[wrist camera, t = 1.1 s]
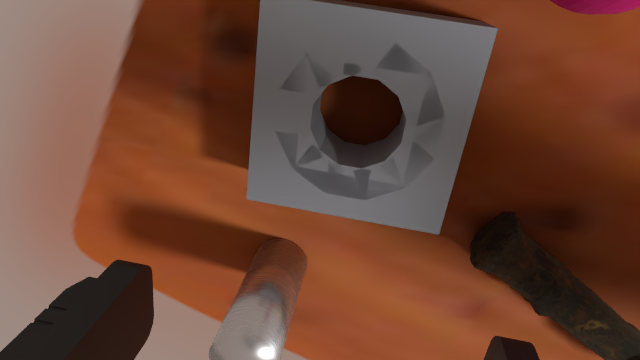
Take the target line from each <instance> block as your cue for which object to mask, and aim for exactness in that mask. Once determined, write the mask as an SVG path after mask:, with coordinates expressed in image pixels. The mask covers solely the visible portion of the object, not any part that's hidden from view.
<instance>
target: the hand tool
mask: <svg viewBox="0 0 640 360" xmlns="http://www.w3.org/2000/svg"><path fill="white" fill-rule="evenodd" d="M470 250H471V257H470V260H471V263H472V264H473V266H474V268H477V269H480V270H483V271H485V272H487V273H493V274H495V275H497V276H499V277H500V278H501V279H503V280H504V281H505V282H506V283H508V284H509V285H510V286H511V287H512V288H514V289H515V290H517V291H518V292H519V293H520V294H521V295H522V296H523V297H524V299H525V300H526V301H528V302H530V303H531V305H532V307H533V309H534V311H535V312H536V313H537V314H538V315H540V316H548V317H550V318H552V319H553V320H554V321H555V322H557V323H558V324H559V325H561V326H562V327H563V328H564V329H566V330H567V331H568V332H569V333H570V334H572V335H573V336H574V337H576V338H577V339H578V340H580V341H581V342H582V343H583V344H585V345H586V346H587V347H588V348H590V349H591V350H593V351H594V352H595V353H596V354H598V355H599V356H600V357H602V358H603V359H604V360H640V331H639V330H638V329H637V328H636V327H635V326H633V325H632V324H630V323H627V322H626V321H625V320H624V319H622V318H621V317H620V316H619V315H618V314H617V313H616V312H615V311H614V310H613V309H612V308H611V307H609V306H608V305H607V304H606V303H605V302H604V301H603V300H602V299H601V298H600V297H599V296H597V295H596V294H595V293H594V292H593V291H592V290H591V289H589V288H588V287H586V286H585V285H584V284H583V283H582V282H581V281H580V280H578V279H577V278H576V277H575V276H574V275H573V274H572V273H571V271H569V270H568V269H567V268H566V267H565V266H564V265H563V264H562V263H561V262H560V261H559V260H558V259H557V258H556V257H554V256H553V255H551V254H550V253H549V252H547V251H546V250H545V249H543V248H542V247H540V246H539V245H538V244H537V243H536V242H535V241H533V240H532V239H531V238H530V237H529V236H528V235H527V234H526V233H525V232H524V231H522V228H521V224H520V222H519V220H518V218H517V217H516V216H515V212H502V213H501V214H499V215H498V216H497V217H496V218H495V219H494V220H492V221H490V222H489V223H487V224H486V225H485V226H484V227H483V228H482V229H481V230H480V231H479V232H478V233H477V235H476V236H475V237H474V239H473V240H472V242H471V245H470Z"/></svg>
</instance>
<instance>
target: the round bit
mask: <svg viewBox="0 0 640 360" xmlns="http://www.w3.org/2000/svg"><path fill="white" fill-rule="evenodd" d="M306 267H307V259H306V256H305V253H304V252H303V250H302V249H301V248H300V247H299V246H298V245H297V244H295V243H294V242H292V241H289V240H287V239H281V238H275V239H270V240H267V241H266V242H264V243H263V244H262V245H261V246H260V247H259V248H258V250H257V252H256V254H255V256H254V258H253V261H252V263H251V265H250V267H249V269H248V271H247V273H246V275H245V277H244V279H243V281H242V283H241V285H240V287H239V289H238V291H237V294H236V296H235V298H234V300H233V302H232V304H231V306H230V308H229V310H228V312H227V314H226V316H225V318H224V320H223V322H222V325H221V327H220V329H219V331H218V333H217V335H216V337H215V339H214V341H213V343H212V345H211V347H210V350H209V359H210V360H280V358H281V355H282V352H283V348H284V345H285V341H286V338H287V334H288V331H289V327H290V324H291V320H292V317H293V313H294V310H295V306H296V303H297V299H298V296H299V292H300V289H301V285H302V282H303V278H304V275H305V271H306Z"/></svg>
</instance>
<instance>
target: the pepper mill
mask: <svg viewBox="0 0 640 360" xmlns="http://www.w3.org/2000/svg"><path fill="white" fill-rule="evenodd" d="M551 1H552V2H554V3H555V4H557V5H558V6H560V7H562V8H565V9H567V10H570V11H572V12H576V13H583V14H616V13H620V12H625V11H629V10H633V9H636V8H638V7H640V0H551Z"/></svg>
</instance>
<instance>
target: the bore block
mask: <svg viewBox="0 0 640 360" xmlns="http://www.w3.org/2000/svg"><path fill="white" fill-rule="evenodd" d="M497 30H498V28H496V27H494V26H492V25H490V24H487V23H485V22H483V21H477V20H470V19H464V18H457V17H450V16H444V15H437V14H430V13H423V12H417V11H410V10H403V9H397V8H390V7H383V6H376V5H370V4H363V3H356V2H350V1H343V0H260V9H259V23H258V38H257V53H256V67H255V82H254V97H253V111H252V126H251V140H250V155H249V170H248V184H247V199H248V200H253V201H259V202H264V203H269V204H275V205H280V206H286V207H291V208H297V209H302V210H307V211H313V212H318V213H324V214H329V215H334V216H340V217H345V218H351V219H356V220H361V221H367V222H372V223H378V224H383V225H389V226H394V227H399V228H405V229H410V230H416V231H421V232H426V233H432V234H437V235H439V233H440V230H441V226H442V223H443V219H444V216H445V212H446V209H447V205H448V202H449V198H450V195H451V191H452V188H453V184H454V181H455V177H456V174H457V170H458V167H459V163H460V160H461V156H462V153H463V149H464V146H465V142H466V139H467V135H468V132H469V128H470V125H471V121H472V118H473V114H474V111H475V107H476V104H477V100H478V97H479V93H480V90H481V86H482V83H483V79H484V76H485V72H486V69H487V65H488V62H489V58H490V55H491V51H492V48H493V44H494V41H495V37H496V34H497ZM350 76H358V77H364V78H370V79H377V80H379V81H380V82H382V83H383V84H384V85H385V86H386V87H388V88H389V89H390V90H391V91H392V92H394V93H395V94H396V95H397V96H398V97H399V100H400V103H401V106H402V109H403V110H402V114H401V119H400V123H399V124H398V125H397V126H396V127H395V128H394V130H393V131H392V132H391V133H390V134H389V135H388V136H387V137H386V138H385V139H383V140H380V141H377V142H374V143H371V144H368V145H360V144H354V143H349V142H344V141H343V140H342V139H340V138H339V137H338V136H336V135H335V134H334V133H333V132H331V131H330V130H329V129H328V128H327V125H326V123H325V120H324V118H323V116H322V113H321V111H320V105H321V98H322V92H323V91H324V90H325V89H326V87H327V86H328V85H329V84H332V83H334V82H337V81H340V80H342V79H345V78H347V77H350Z"/></svg>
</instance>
